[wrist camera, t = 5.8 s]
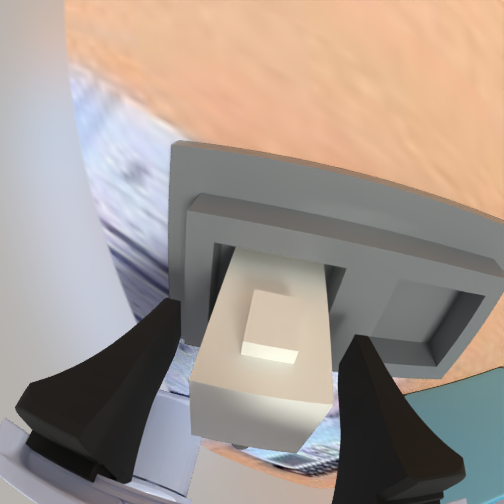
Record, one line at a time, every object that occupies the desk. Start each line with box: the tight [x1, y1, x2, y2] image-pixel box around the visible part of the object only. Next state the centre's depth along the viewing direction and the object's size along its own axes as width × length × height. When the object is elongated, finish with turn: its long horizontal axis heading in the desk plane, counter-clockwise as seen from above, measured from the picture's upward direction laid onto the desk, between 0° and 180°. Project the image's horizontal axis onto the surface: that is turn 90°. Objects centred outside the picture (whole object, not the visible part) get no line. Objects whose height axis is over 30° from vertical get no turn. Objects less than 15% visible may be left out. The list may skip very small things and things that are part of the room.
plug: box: [189, 247, 333, 453], centre depth 13 cm, size 4×8×8 cm, turn 172°
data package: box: [404, 368, 504, 504], centre depth 16 cm, size 12×4×12 cm, turn 107°
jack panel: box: [168, 140, 504, 379], centre depth 15 cm, size 19×12×3 cm, turn 82°
